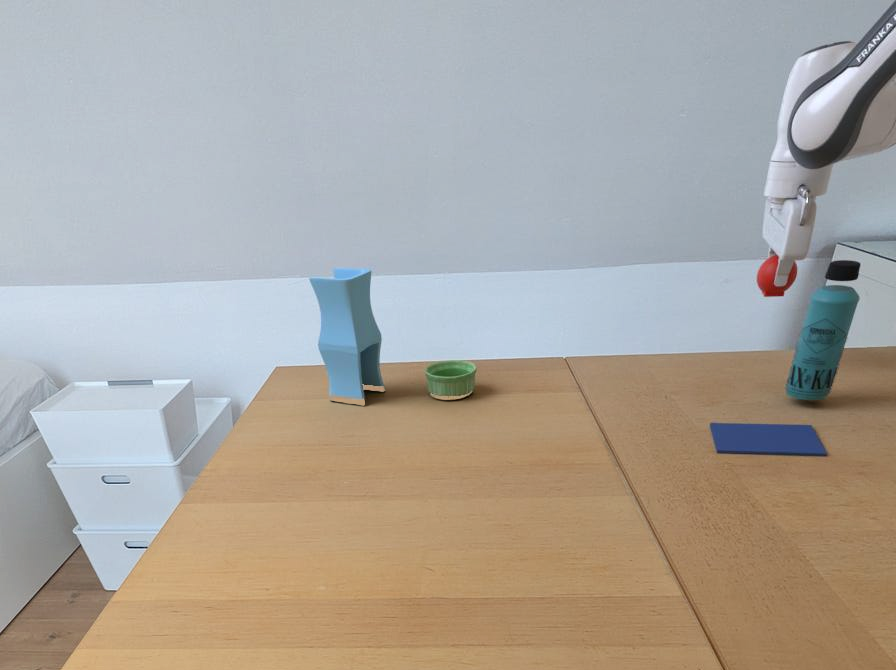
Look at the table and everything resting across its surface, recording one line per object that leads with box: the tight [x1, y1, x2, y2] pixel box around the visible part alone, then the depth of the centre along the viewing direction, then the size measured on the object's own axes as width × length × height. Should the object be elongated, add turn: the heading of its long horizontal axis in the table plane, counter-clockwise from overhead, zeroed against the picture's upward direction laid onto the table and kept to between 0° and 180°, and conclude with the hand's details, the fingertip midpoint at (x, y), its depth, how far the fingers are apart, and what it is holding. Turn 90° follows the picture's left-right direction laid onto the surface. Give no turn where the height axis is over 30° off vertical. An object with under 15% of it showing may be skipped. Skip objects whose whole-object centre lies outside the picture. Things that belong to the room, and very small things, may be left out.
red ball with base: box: [756, 255, 798, 298], centre depth 115 cm, size 6×6×7 cm
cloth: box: [709, 422, 828, 457], centre depth 100 cm, size 14×10×1 cm
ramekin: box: [424, 359, 477, 397], centre depth 122 cm, size 9×9×4 cm
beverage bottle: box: [784, 259, 861, 401], centre depth 104 cm, size 6×7×20 cm
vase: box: [308, 267, 385, 399], centre depth 119 cm, size 8×8×20 cm
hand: (775, 280), depth 116 cm, fingers closed on red ball with base, 6 cm apart
